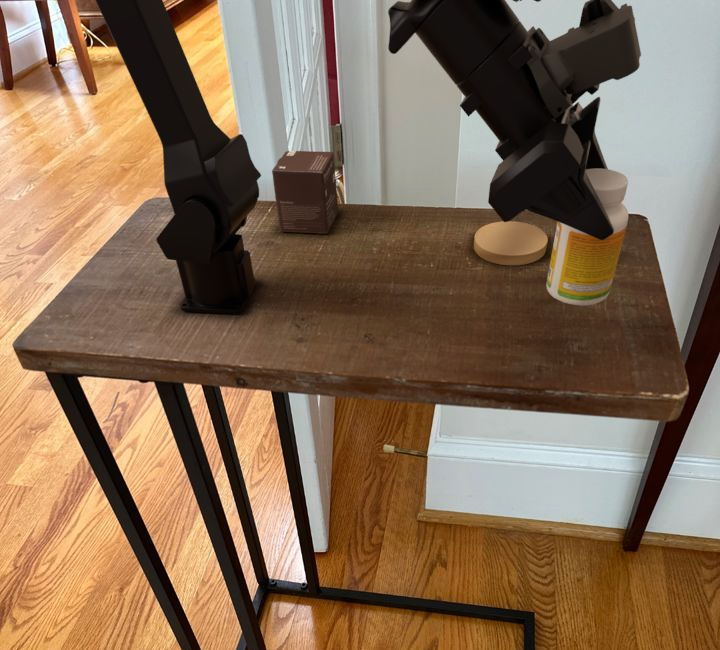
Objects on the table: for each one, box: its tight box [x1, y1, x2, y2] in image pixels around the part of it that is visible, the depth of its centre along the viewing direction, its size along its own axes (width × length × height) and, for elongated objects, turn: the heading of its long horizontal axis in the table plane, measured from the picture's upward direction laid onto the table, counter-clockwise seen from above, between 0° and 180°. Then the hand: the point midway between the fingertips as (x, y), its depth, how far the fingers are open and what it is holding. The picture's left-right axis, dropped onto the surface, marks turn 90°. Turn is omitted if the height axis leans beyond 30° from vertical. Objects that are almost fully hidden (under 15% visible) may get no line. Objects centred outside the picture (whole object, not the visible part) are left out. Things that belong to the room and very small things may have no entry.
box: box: [271, 150, 339, 234], centre depth 81 cm, size 6×6×7 cm
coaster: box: [473, 220, 549, 266], centre depth 76 cm, size 8×8×1 cm
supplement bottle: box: [546, 168, 629, 307], centre depth 56 cm, size 5×5×10 cm
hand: (611, 219), depth 55 cm, fingers closed on supplement bottle, 5 cm apart
